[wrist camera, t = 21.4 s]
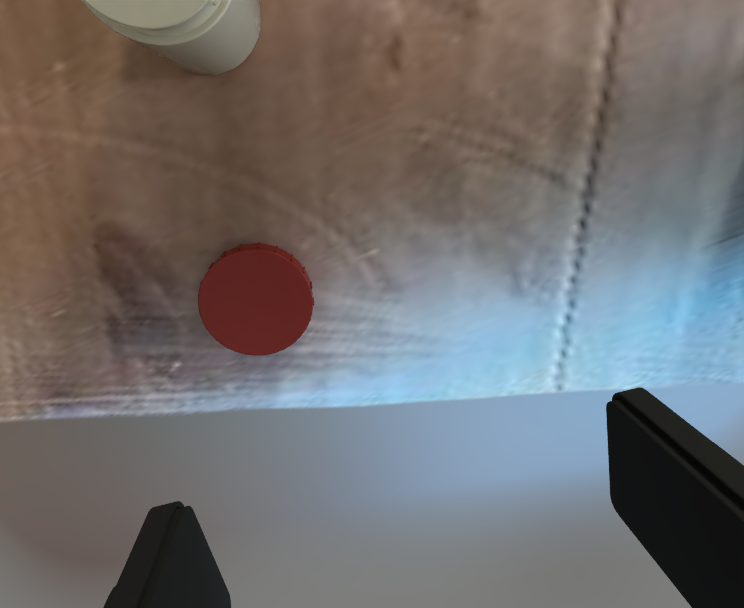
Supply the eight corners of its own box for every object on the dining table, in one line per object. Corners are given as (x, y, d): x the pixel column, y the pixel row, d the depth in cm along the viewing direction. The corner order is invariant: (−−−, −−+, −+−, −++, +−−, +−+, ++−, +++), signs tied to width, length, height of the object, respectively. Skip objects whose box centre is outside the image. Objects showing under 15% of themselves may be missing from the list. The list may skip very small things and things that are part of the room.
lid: (179, 292, 30) (172, 301, 29) (259, 219, 29) (257, 224, 28) (258, 364, 33) (255, 376, 31) (334, 298, 32) (336, 307, 30)
